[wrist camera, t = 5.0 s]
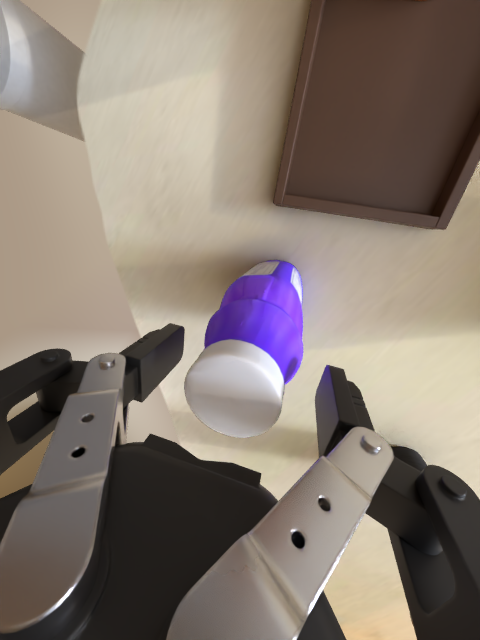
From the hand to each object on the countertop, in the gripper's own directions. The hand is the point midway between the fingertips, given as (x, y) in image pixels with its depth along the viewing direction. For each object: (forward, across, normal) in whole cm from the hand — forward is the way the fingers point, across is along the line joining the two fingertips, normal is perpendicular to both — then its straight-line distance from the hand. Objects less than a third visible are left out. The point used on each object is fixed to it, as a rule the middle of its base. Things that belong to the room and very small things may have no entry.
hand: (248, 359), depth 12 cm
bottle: (+14, 0, 0) cm, 14 cm away
